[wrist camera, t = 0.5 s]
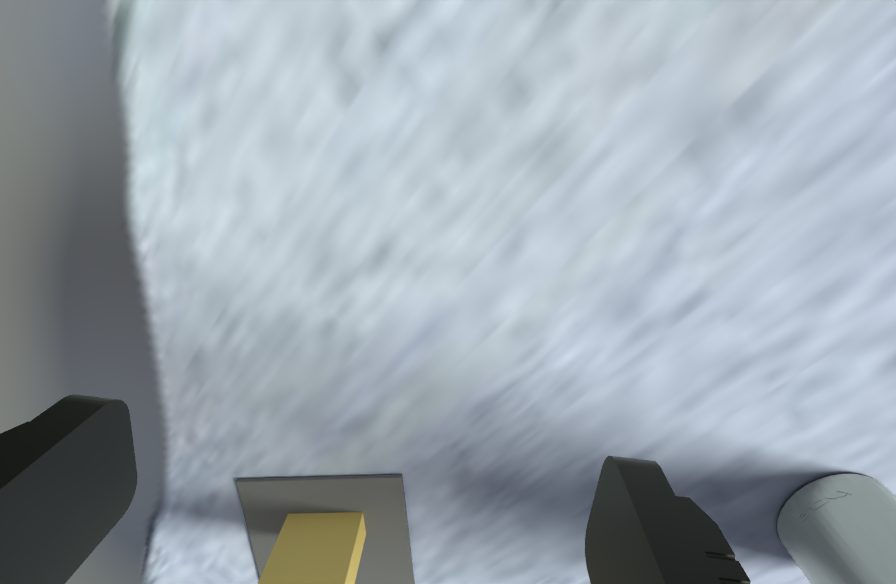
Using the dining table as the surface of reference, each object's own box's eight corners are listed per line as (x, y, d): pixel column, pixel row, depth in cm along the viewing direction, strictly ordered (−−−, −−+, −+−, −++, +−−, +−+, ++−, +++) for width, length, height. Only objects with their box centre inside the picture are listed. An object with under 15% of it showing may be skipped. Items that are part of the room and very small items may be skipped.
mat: (237, 478, 43) (235, 482, 43) (402, 474, 42) (401, 477, 42) (279, 644, 50) (277, 648, 50) (421, 643, 49) (420, 647, 49)
